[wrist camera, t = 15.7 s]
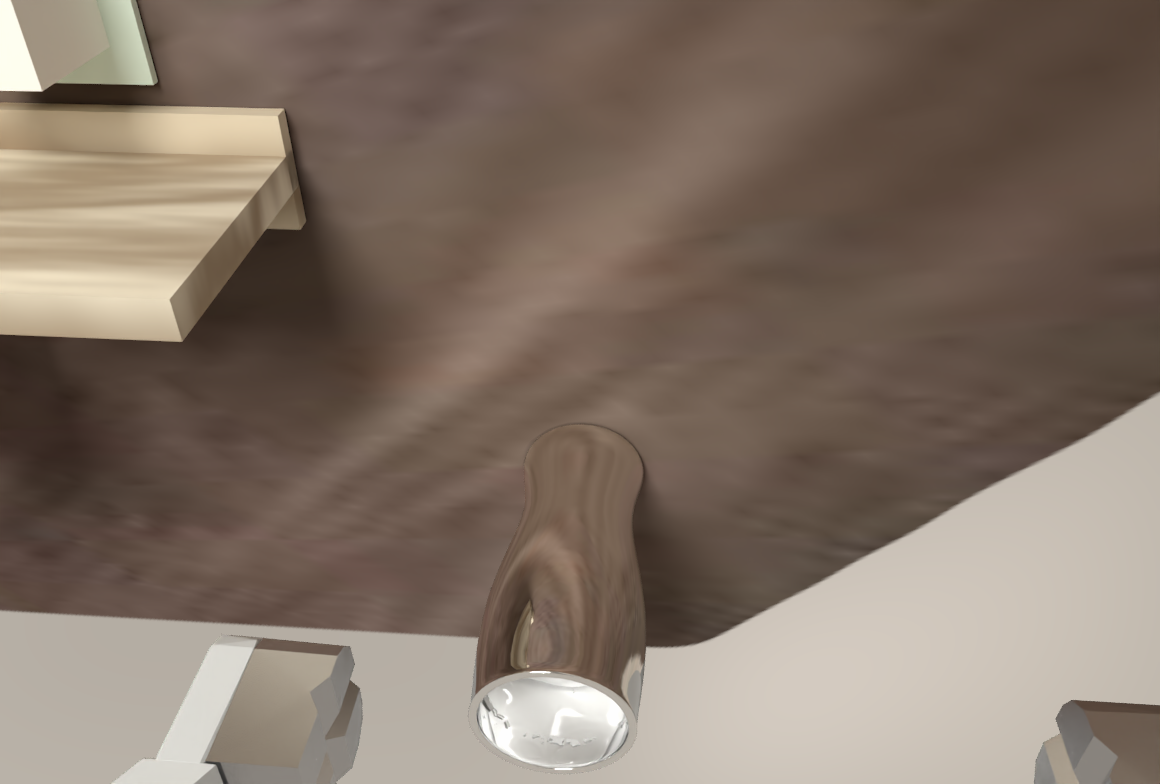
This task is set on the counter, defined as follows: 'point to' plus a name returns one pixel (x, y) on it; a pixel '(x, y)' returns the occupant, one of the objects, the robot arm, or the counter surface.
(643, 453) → the counter surface
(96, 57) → the pad
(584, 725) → the beer glass
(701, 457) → the counter surface
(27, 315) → the wooden stand
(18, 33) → the lettered cube
